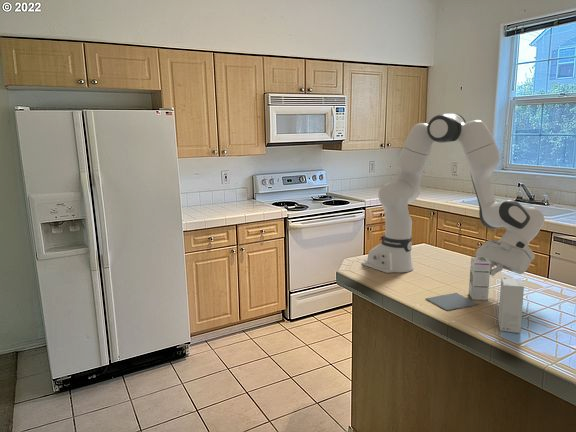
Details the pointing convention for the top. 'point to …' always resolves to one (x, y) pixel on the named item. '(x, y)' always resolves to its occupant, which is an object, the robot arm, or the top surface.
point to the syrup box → (479, 278)
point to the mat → (452, 301)
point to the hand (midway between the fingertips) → (488, 273)
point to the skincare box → (511, 305)
